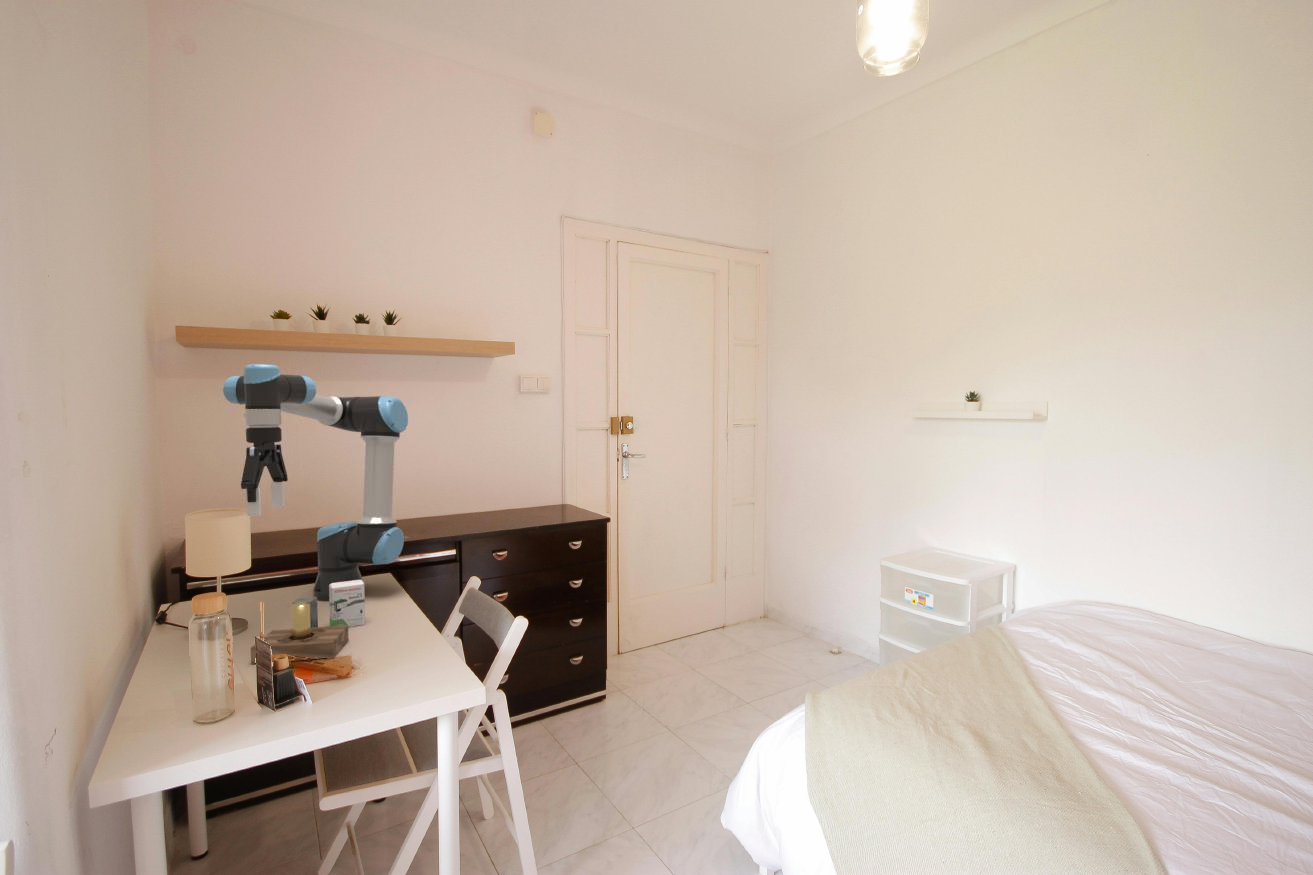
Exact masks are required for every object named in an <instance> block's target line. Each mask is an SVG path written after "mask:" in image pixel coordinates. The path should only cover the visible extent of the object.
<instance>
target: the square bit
mask: <svg viewBox="0 0 1313 875" xmlns="http://www.w3.org/2000/svg"><path fill="white" fill-rule="evenodd" d="M298 602H310V620H311V628H314V627H319V619H318V618H319V617H318V615H319V614H318V613H319V612H318V609H319V608H318V600H317V597H313V596H311V597H310V596H309V597H308V596H307V597H298V598H297V599H295V600H294V601H293V602H292V603H291V605H292V604H295V603H298Z"/></svg>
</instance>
